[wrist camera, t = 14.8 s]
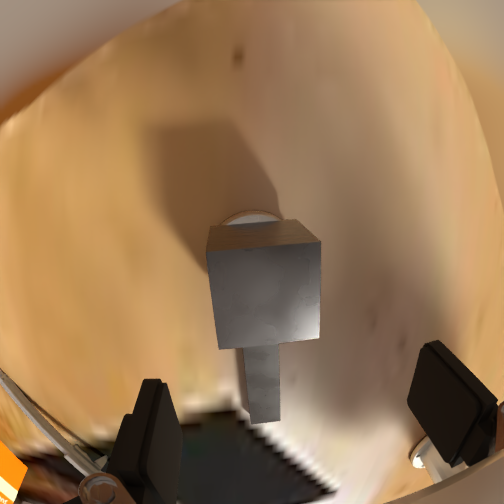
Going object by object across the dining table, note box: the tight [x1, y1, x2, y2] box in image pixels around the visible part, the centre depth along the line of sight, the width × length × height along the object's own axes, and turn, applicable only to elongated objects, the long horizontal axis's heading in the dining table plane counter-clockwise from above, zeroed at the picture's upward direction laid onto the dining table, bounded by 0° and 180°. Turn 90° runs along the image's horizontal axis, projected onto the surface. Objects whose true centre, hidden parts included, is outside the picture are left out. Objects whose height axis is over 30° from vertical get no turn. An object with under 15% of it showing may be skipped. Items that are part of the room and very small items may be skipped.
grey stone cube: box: [206, 219, 321, 350], centre depth 20 cm, size 6×6×6 cm
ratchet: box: [207, 210, 281, 424], centre depth 24 cm, size 7×21×5 cm, turn 4°
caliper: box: [0, 369, 109, 477], centre depth 26 cm, size 20×1×6 cm, turn 40°
